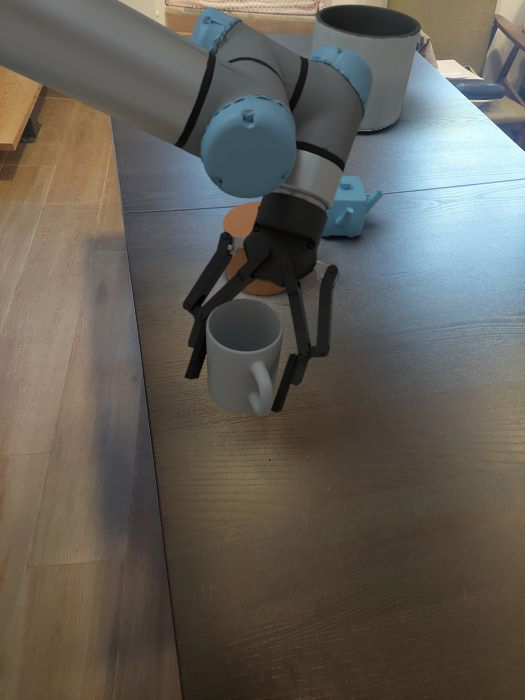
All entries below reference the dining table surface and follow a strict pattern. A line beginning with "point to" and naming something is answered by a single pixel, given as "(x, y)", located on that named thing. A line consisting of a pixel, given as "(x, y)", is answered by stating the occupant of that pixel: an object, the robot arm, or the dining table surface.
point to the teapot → (349, 208)
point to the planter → (373, 53)
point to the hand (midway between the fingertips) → (233, 393)
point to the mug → (243, 356)
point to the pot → (254, 287)
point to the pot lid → (241, 219)
